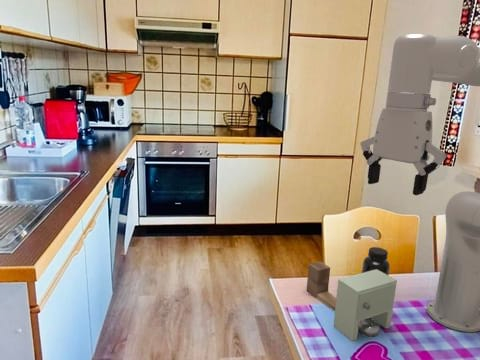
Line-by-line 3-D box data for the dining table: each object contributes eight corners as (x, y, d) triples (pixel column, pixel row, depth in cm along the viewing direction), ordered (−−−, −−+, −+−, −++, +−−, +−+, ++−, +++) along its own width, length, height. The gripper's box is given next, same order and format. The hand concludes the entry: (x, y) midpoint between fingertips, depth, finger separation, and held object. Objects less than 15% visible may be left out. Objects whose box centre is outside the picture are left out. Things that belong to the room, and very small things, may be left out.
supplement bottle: (364, 297, 104) (369, 255, 101) (356, 284, 111) (361, 245, 108) (390, 297, 104) (395, 256, 102) (380, 284, 111) (385, 245, 108)
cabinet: (370, 313, 97) (376, 269, 94) (394, 329, 90) (401, 282, 88) (333, 326, 91) (338, 279, 88) (355, 344, 85) (361, 294, 82)
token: (368, 324, 92) (369, 317, 92) (382, 335, 89) (383, 327, 88) (354, 329, 90) (355, 321, 90) (368, 340, 87) (369, 332, 86)
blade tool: (318, 288, 108) (320, 261, 106) (355, 315, 96) (359, 285, 94) (306, 291, 106) (308, 264, 104) (343, 319, 94) (346, 289, 92)
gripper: (462, 105, 71) (446, 196, 75) (376, 100, 84) (367, 177, 88) (444, 105, 67) (428, 202, 71) (356, 99, 79) (347, 181, 83)
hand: (394, 188), depth 79 cm, fingers open, 9 cm apart
